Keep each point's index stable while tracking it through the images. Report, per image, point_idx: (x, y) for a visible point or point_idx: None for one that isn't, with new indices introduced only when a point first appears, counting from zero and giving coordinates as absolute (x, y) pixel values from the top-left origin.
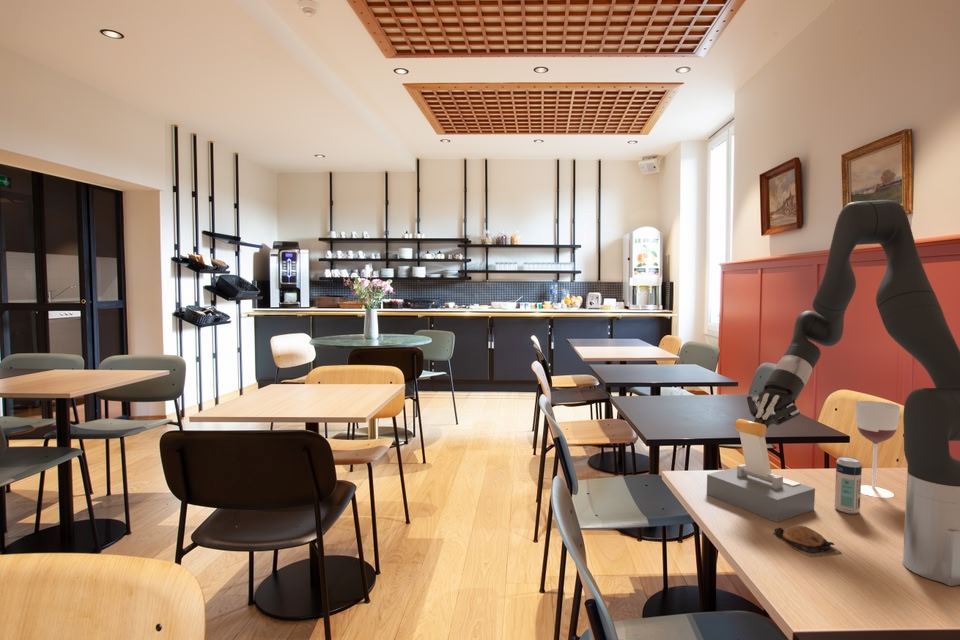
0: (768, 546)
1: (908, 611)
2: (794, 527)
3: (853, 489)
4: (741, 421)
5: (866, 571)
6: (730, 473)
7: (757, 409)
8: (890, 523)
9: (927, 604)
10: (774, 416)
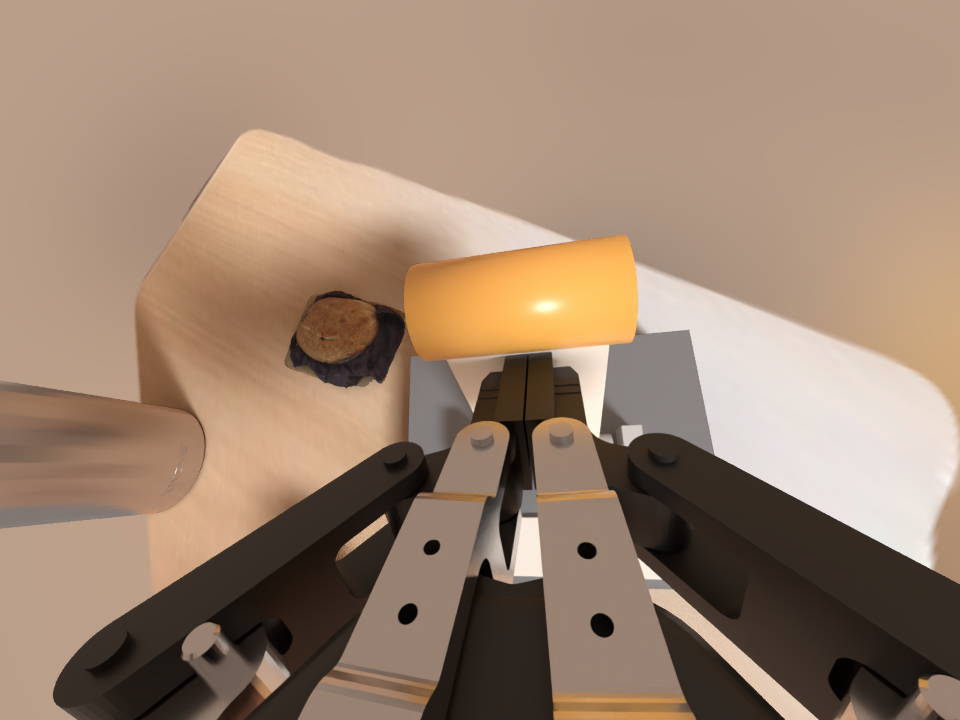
0: (375, 258)
1: (173, 284)
2: (346, 315)
3: None
4: (578, 245)
5: (237, 339)
6: (664, 425)
7: (773, 673)
8: None
9: (159, 327)
10: (387, 468)
